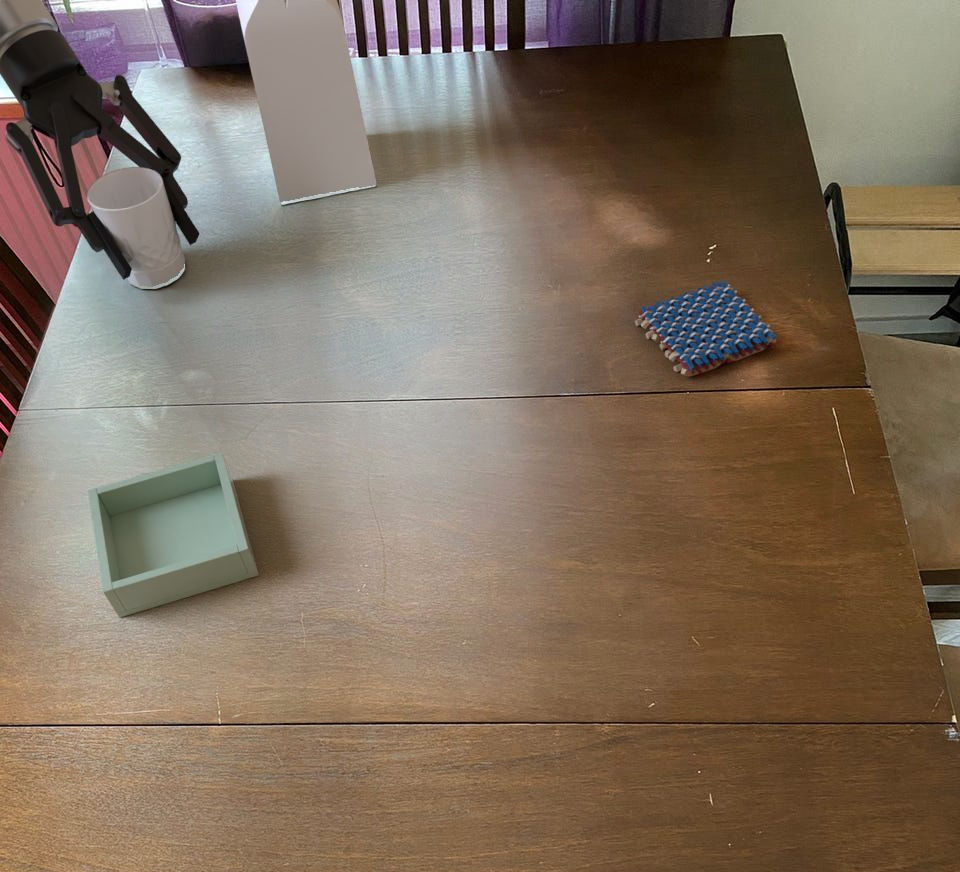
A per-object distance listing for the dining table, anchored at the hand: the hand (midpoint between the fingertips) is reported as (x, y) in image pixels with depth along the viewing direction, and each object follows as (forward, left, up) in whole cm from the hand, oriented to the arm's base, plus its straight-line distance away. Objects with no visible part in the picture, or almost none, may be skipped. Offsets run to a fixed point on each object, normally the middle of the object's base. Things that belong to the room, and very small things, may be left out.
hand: (161, 256), depth 107 cm
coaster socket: (-5, -38, -4) cm, 38 cm away
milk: (+21, +15, -4) cm, 26 cm away
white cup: (-1, +3, -4) cm, 5 cm away
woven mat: (+49, -31, -4) cm, 58 cm away
